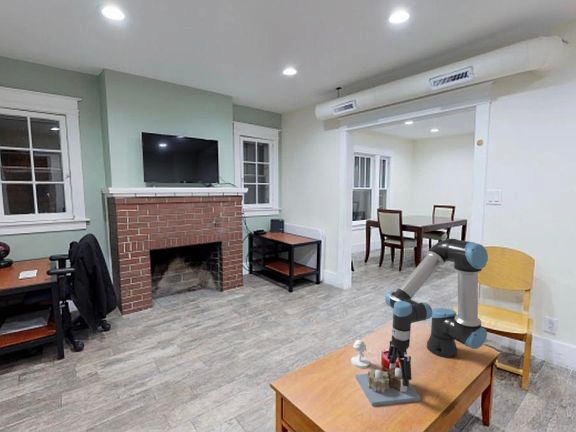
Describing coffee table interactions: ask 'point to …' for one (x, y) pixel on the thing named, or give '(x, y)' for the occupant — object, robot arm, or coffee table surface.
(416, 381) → the coffee table surface
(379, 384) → the gear
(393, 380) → the walnut gear
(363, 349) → the figurine
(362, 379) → the gear board
